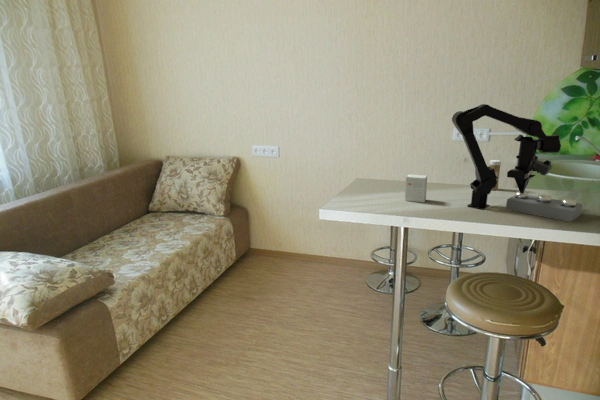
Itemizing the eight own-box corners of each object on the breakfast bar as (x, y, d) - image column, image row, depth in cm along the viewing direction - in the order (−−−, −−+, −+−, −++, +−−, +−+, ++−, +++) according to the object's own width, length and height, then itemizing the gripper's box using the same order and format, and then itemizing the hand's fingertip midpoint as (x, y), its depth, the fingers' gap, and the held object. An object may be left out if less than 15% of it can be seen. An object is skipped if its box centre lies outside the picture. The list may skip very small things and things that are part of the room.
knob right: (572, 215, 145) (574, 202, 144) (558, 213, 148) (560, 200, 147) (575, 212, 148) (578, 200, 147) (562, 210, 151) (564, 198, 150)
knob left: (524, 206, 157) (525, 194, 155) (512, 204, 160) (513, 192, 158) (528, 204, 159) (530, 192, 158) (516, 202, 162) (518, 190, 161)
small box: (426, 199, 173) (427, 175, 170) (424, 202, 168) (425, 178, 166) (407, 197, 177) (408, 173, 174) (404, 200, 172) (405, 176, 169)
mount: (570, 221, 142) (572, 210, 141) (505, 209, 158) (507, 199, 157) (580, 214, 150) (582, 204, 149) (517, 202, 166) (519, 193, 165)
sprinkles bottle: (499, 189, 188) (503, 160, 184) (494, 190, 185) (497, 161, 182) (490, 187, 191) (493, 159, 188) (485, 188, 189) (488, 160, 185)
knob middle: (547, 210, 151) (549, 198, 149) (534, 208, 154) (536, 196, 153) (551, 208, 154) (553, 196, 152) (538, 206, 157) (540, 194, 155)
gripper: (542, 158, 142) (535, 201, 146) (559, 152, 154) (552, 192, 159) (509, 155, 150) (503, 195, 154) (527, 149, 162) (522, 187, 166)
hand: (521, 192), depth 158 cm, fingers closed, pressing on knob left
